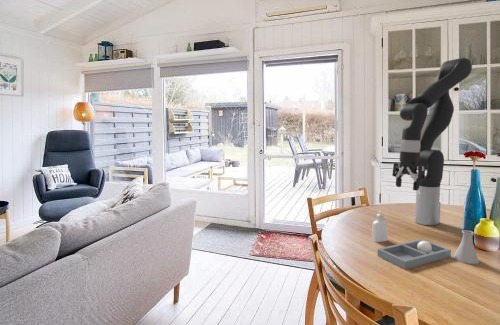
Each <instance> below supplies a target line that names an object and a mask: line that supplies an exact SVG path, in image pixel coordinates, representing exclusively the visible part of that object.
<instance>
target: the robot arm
mask: <svg viewBox="0 0 500 325" xmlns="http://www.w3.org/2000/svg"><path fill="white" fill-rule="evenodd" d="M438 70H439V71H438V73H437V75H438V76H437V80H436V81H434V82H433V83H431V84H429V85H428V86H427V87H426V88H424V89H423V91H422V92H420V93H419V94H418V95H417V96H415V97H414V98H412V99H411V100H409V101H407V102H406V103H404V104H403V105H402V106H401V108H400V109H399V110H400V111H399V117H400V119H402V120H404V121H406V122H407V121H411V123H410V124H409V125H406V126H404V127H403V128H402V134H401V143H400V148H399V149H400V150H399V161H400V162H394V163H393V168H392V177H395V186H396V187H398V188H401V187H402V180H403V179H402V177H403V176H404V175H405V176H406V175H408V176H410V178H412V180H413V184H412V186H413V187H412V191H415V214H414V216H415V217H414V221H415V223H417V224H420V225H423V226H438V225H439V224H440V221H441V201H440V198H441V183H442V180H443V174H444V167H445V166H444V165H445V156H444V153H443V152H442V151H441V150H439V149H438V150H437V149H432V147H433V145H434V143H435V142H436V139H437V138H439V136H440V135H441V134H443V132H444V131H445V130H446V129H447V128H448V127H449V126H450V124H451V122H452V118H453V114H454V111H455V108H454V107H455V106H454V104H453V101H452V99H451V96H450V90H451V89H452V88H454V87H455V86H456V85H458V84H459V83H460V82H463V81H464V80H465V79H467V78H468V77H469V75H470V74H471V73H472V70H473V64H472V62H471V60H470V59H469V58H466V57H461V58H459V57H458V58H455V59H451V60H446V61H444V62H443V63H442V64H441V65H440V68H439V69H438ZM428 109H429V112H428ZM425 122H426V123H425ZM423 128H424V129H423ZM422 130H423V132H422Z"/></svg>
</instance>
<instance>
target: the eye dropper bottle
mask: <svg viewBox="0 0 500 325" xmlns="http://www.w3.org/2000/svg"><path fill="white" fill-rule="evenodd" d="M384 216H385V215H384V214H383V213H382V210H379V212H378V213H377V214H376V220H374V221H373V222H372V225H371V226H372V227H371V228H372V229H371V230H372V232H371V241H373V242H374V243H382V242H386V241H388V232H389V231H388V224H389V223H388V221H385V220H384V219H385V218H384Z"/></svg>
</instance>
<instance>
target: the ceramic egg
mask: <svg viewBox="0 0 500 325" xmlns="http://www.w3.org/2000/svg"><path fill="white" fill-rule="evenodd" d="M427 241H428V240H426V241H420V242H419V243H418V245H417V248H418V250H419V251H421V252H423V253H426V254H428V253H430V252H431V250H432V246H431V244H430V243H429V242H430V241H429V242H427Z"/></svg>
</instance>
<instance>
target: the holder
mask: <svg viewBox="0 0 500 325" xmlns="http://www.w3.org/2000/svg"><path fill="white" fill-rule="evenodd" d="M420 241H427V242H429V243H430V244H431V246H432V250H431V252H430V253H428V254H426V253H423V252H421V251H419V250H418V248H417V245H418V243H419V242H420ZM451 256H452V249H449V248H448V247H445V246H442V245H439V244H436V243H434V242H431V241H428V240H425V239H422V238H419V239H416V240H412V241H411V240H410V241H406V242H402V243H398V244H394V245H388V246H385V247H380V248H377V257H378V258H381V259H383V260H385V261H387V262H390V263H391V264H393V265H396V266H397V267H399V268H400V269H401V268H402V269H403V270H407V269H410V268H414V267H419V266H421V265H425V264H429V263H432V262H436V261H441V260H444V259H448V258H451Z"/></svg>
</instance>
